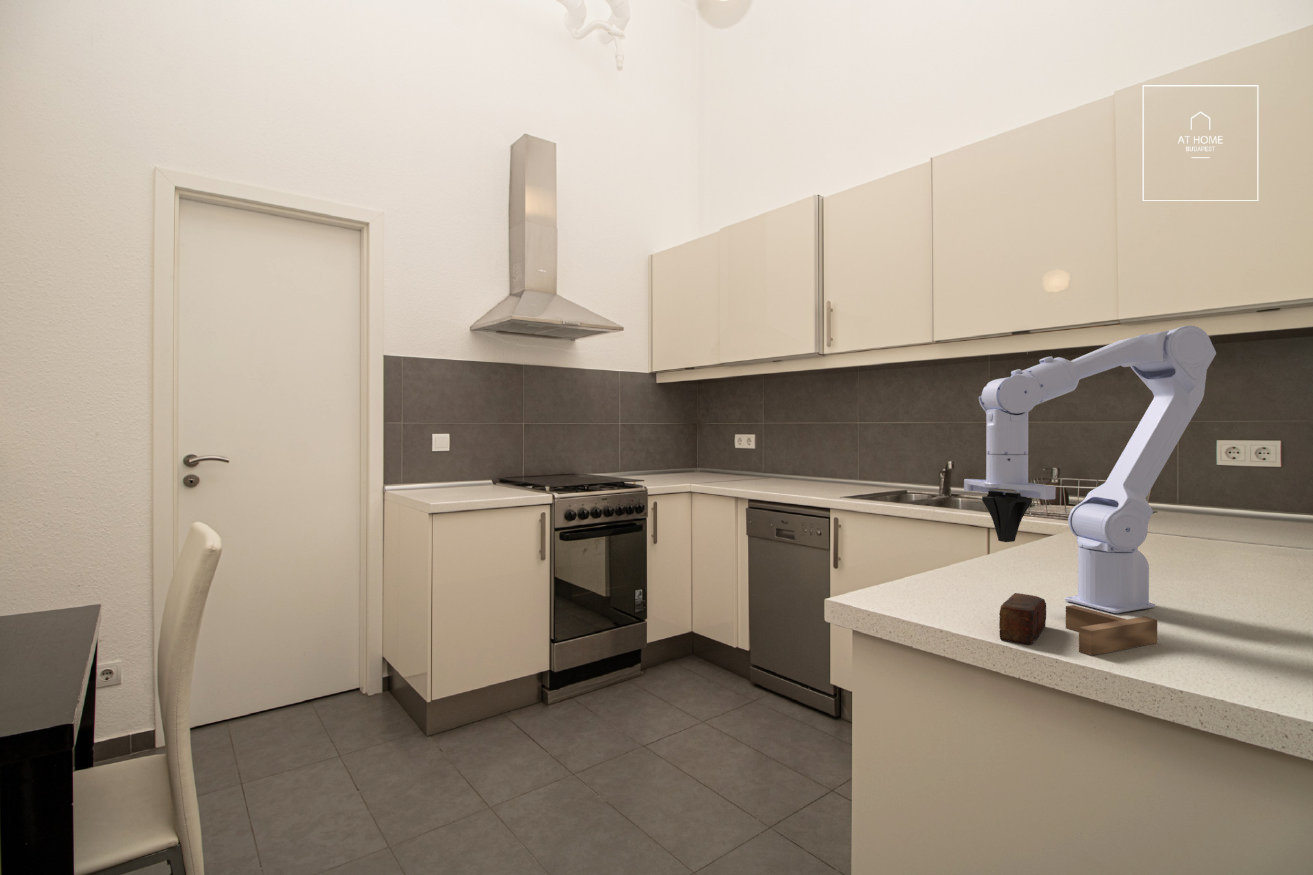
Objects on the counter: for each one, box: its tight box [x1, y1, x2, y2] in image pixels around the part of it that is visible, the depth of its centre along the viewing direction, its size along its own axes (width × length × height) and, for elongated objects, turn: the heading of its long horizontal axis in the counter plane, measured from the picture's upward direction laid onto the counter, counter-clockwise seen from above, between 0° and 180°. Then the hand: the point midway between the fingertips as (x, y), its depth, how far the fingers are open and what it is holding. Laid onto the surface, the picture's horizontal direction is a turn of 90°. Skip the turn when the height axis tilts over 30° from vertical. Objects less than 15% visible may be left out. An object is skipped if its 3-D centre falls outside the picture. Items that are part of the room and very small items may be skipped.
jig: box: [1065, 604, 1158, 657], centre depth 82 cm, size 12×8×3 cm
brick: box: [998, 592, 1047, 646], centre depth 84 cm, size 11×4×5 cm, turn 140°
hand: (1006, 541), depth 98 cm, fingers closed
